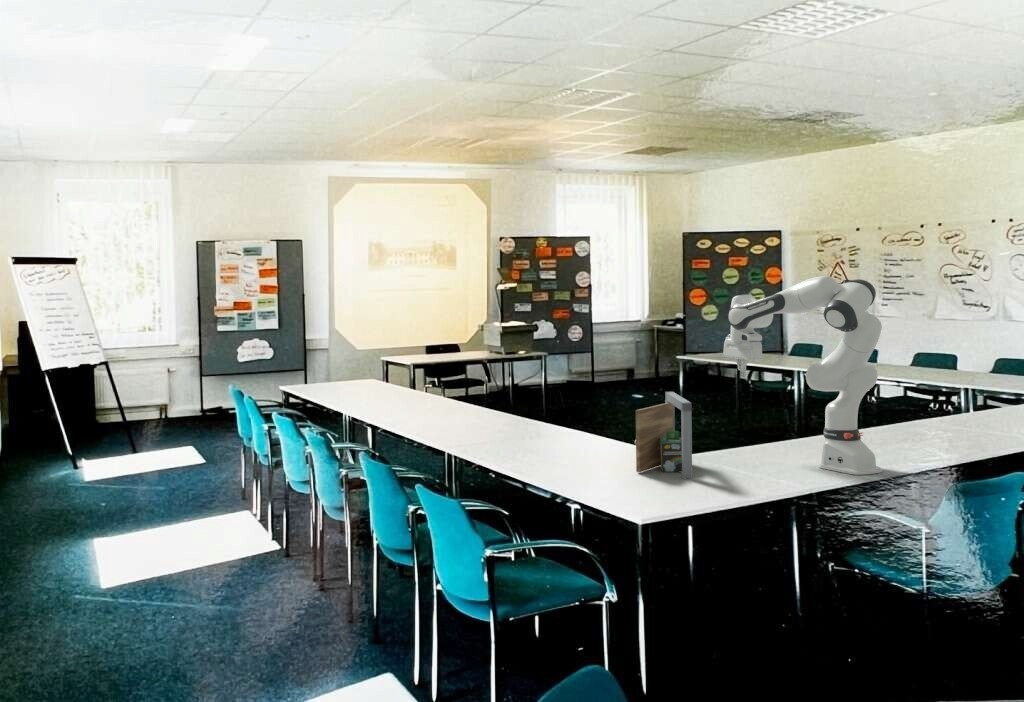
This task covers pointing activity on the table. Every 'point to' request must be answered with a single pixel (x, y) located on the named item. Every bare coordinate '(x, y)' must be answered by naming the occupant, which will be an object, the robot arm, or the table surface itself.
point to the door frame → (683, 429)
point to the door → (651, 434)
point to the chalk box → (671, 452)
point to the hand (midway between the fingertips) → (741, 370)
